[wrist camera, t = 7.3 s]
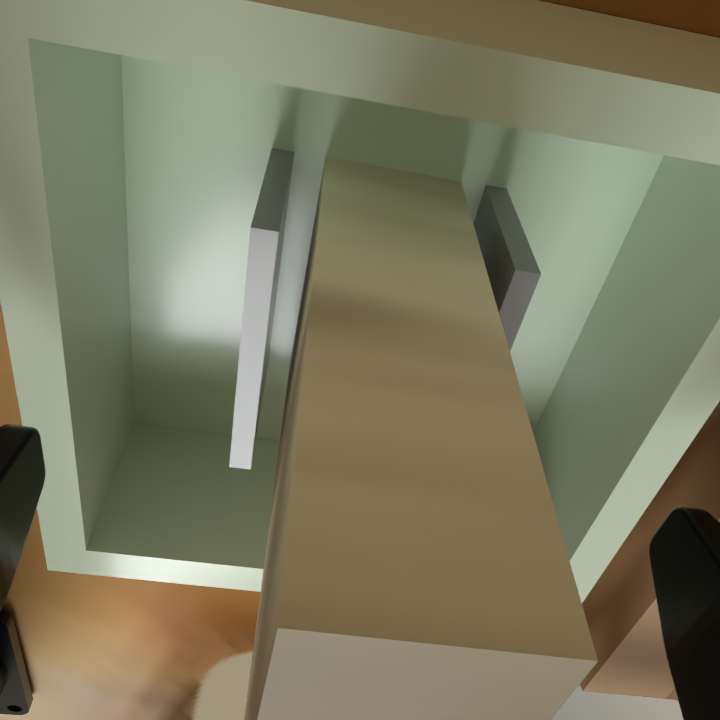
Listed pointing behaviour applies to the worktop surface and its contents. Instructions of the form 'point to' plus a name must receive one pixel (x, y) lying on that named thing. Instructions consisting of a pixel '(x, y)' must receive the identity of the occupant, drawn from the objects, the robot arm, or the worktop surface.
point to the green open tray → (293, 238)
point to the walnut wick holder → (647, 581)
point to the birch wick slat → (409, 483)
